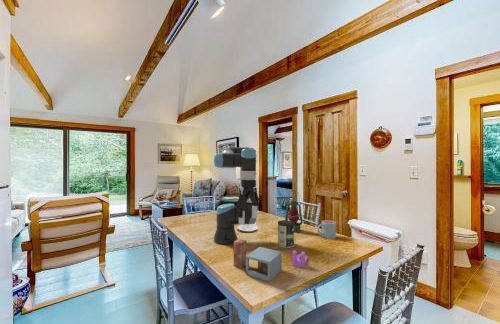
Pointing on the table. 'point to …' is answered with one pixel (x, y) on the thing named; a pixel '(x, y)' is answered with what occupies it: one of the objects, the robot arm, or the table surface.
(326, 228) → the mug
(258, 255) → the box
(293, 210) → the lantern
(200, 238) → the table surface
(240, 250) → the reddish brown block
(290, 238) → the coffee can
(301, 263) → the bracket
